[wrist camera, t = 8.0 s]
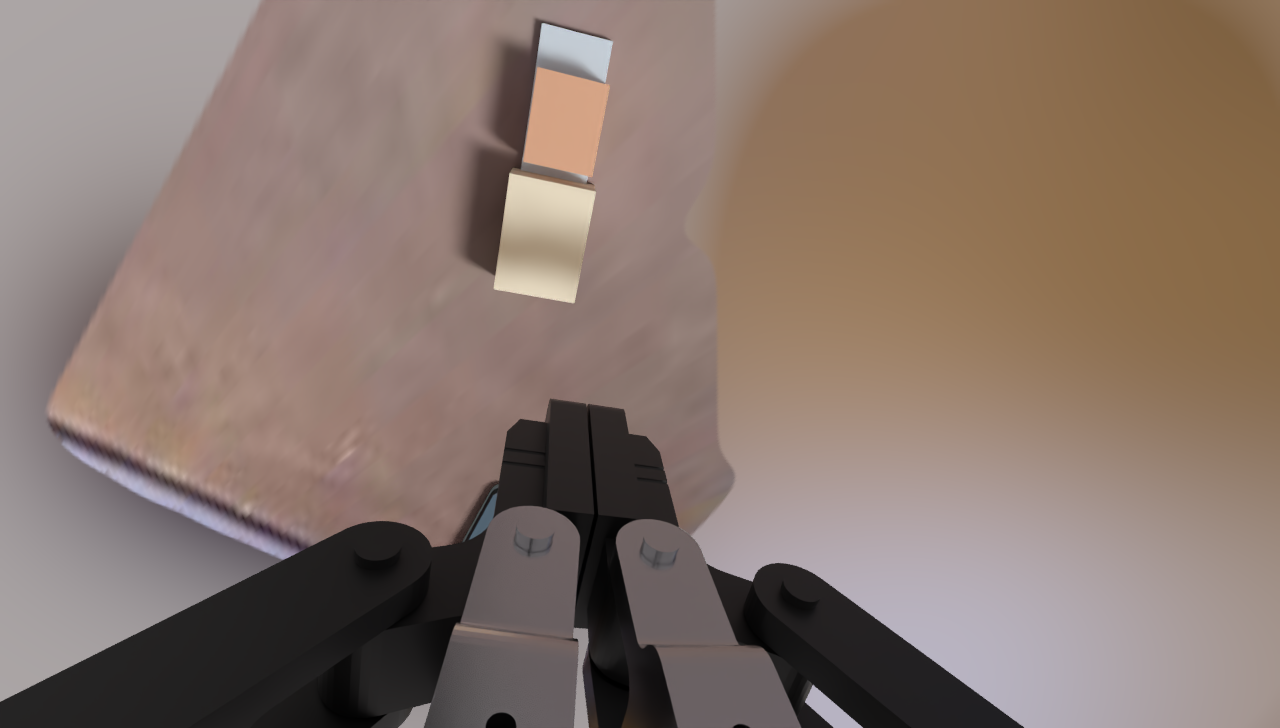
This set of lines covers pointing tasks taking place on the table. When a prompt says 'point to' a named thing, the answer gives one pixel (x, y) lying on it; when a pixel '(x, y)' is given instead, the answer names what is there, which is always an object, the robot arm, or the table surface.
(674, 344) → the table surface
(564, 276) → the deck
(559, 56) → the mat
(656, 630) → the robot arm
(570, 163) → the tile
